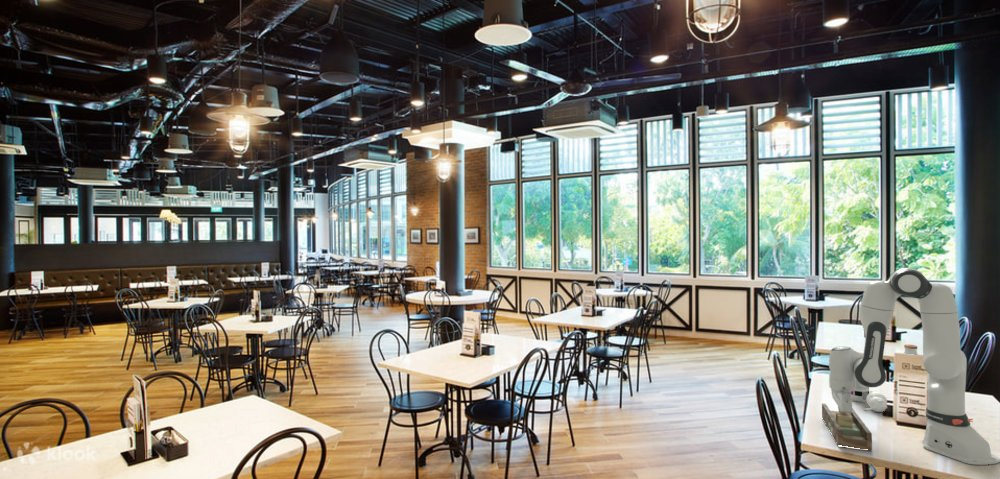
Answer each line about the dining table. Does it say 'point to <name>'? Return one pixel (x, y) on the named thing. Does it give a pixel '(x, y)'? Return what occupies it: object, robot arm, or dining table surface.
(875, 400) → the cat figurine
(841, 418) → the maple block
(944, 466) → the dining table surface
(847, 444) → the brown long open box
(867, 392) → the supplement can
